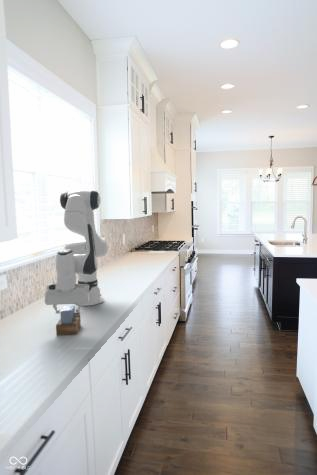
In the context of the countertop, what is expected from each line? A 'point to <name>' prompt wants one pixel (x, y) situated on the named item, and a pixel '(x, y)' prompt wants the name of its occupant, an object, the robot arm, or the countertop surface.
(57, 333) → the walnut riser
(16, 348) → the countertop surface
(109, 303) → the countertop surface
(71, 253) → the robot arm
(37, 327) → the countertop surface
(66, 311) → the block
